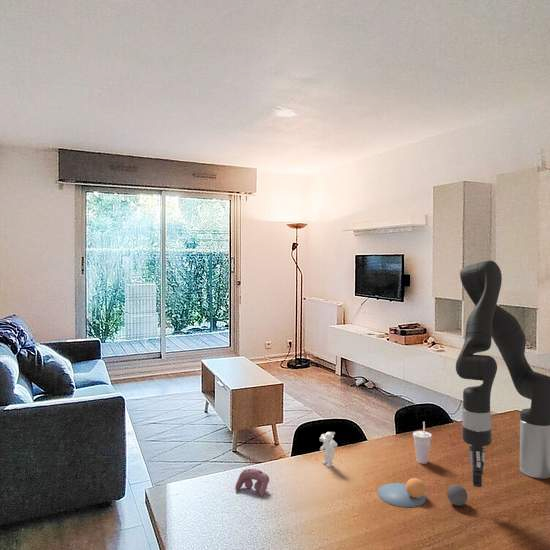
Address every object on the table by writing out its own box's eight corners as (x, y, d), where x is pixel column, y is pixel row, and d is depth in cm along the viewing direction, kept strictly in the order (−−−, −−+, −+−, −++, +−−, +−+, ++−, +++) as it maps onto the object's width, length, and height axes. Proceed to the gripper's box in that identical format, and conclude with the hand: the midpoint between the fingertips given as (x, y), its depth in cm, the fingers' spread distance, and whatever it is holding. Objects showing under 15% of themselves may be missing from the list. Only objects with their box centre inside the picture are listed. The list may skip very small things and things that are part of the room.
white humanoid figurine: (339, 468, 156) (339, 433, 156) (329, 470, 154) (329, 435, 154) (326, 458, 164) (326, 424, 164) (316, 460, 163) (316, 426, 162)
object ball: (422, 476, 139) (407, 484, 141) (415, 473, 136) (399, 481, 137) (431, 494, 136) (415, 502, 137) (424, 492, 132) (407, 500, 134)
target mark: (411, 481, 146) (411, 481, 146) (435, 504, 133) (435, 503, 133) (370, 486, 143) (370, 485, 143) (390, 509, 130) (390, 509, 130)
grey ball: (458, 479, 136) (450, 495, 137) (448, 480, 132) (440, 496, 133) (474, 493, 132) (465, 509, 132) (464, 494, 128) (455, 510, 129)
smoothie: (432, 466, 157) (433, 425, 157) (413, 464, 159) (413, 424, 158) (430, 458, 164) (430, 419, 163) (411, 456, 165) (411, 418, 165)
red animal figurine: (268, 497, 140) (272, 472, 143) (262, 496, 136) (266, 471, 139) (239, 490, 144) (244, 466, 147) (233, 490, 140) (237, 465, 143)
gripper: (461, 416, 137) (462, 473, 138) (463, 432, 125) (464, 495, 125) (489, 418, 134) (489, 477, 135) (493, 435, 122) (494, 499, 123)
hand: (477, 485), depth 130 cm, fingers closed
